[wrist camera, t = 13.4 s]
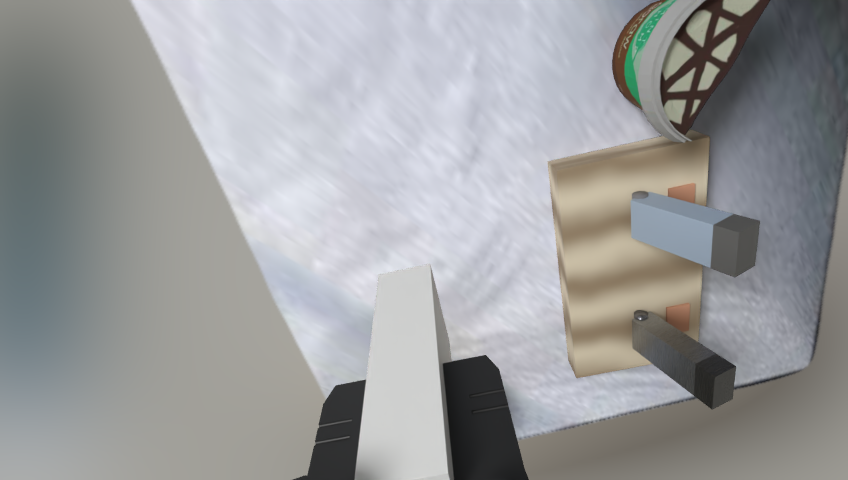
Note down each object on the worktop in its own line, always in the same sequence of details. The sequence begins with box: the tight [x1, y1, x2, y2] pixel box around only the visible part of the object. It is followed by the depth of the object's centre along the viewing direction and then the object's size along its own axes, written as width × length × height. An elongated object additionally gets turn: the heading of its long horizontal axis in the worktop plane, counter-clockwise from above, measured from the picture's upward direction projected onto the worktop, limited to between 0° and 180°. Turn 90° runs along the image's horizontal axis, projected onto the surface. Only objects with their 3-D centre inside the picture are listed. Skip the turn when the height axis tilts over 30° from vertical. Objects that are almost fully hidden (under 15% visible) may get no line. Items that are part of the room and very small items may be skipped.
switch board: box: [548, 130, 710, 378], centre depth 49 cm, size 26×14×3 cm, turn 13°
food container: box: [612, 0, 770, 143], centre depth 36 cm, size 12×6×10 cm, turn 159°
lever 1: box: [631, 191, 760, 277], centre depth 40 cm, size 4×2×11 cm, turn 12°
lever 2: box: [632, 310, 736, 409], centre depth 46 cm, size 4×2×11 cm, turn 13°
